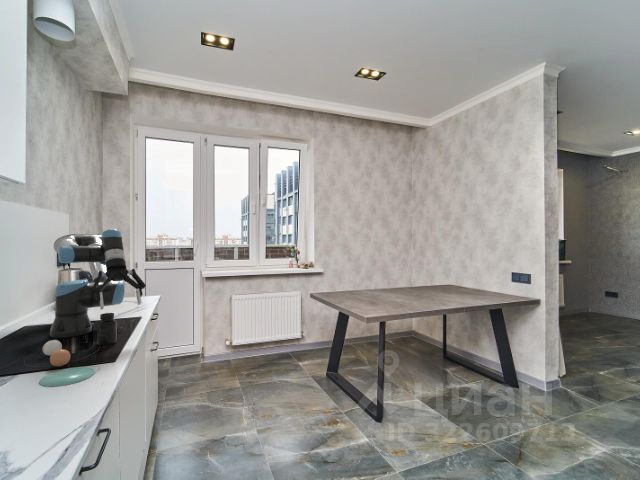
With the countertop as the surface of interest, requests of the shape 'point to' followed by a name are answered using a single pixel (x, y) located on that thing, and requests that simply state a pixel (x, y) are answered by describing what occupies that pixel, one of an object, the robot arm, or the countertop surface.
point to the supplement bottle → (107, 329)
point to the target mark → (66, 376)
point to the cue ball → (51, 347)
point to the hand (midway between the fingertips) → (121, 305)
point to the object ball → (60, 357)
